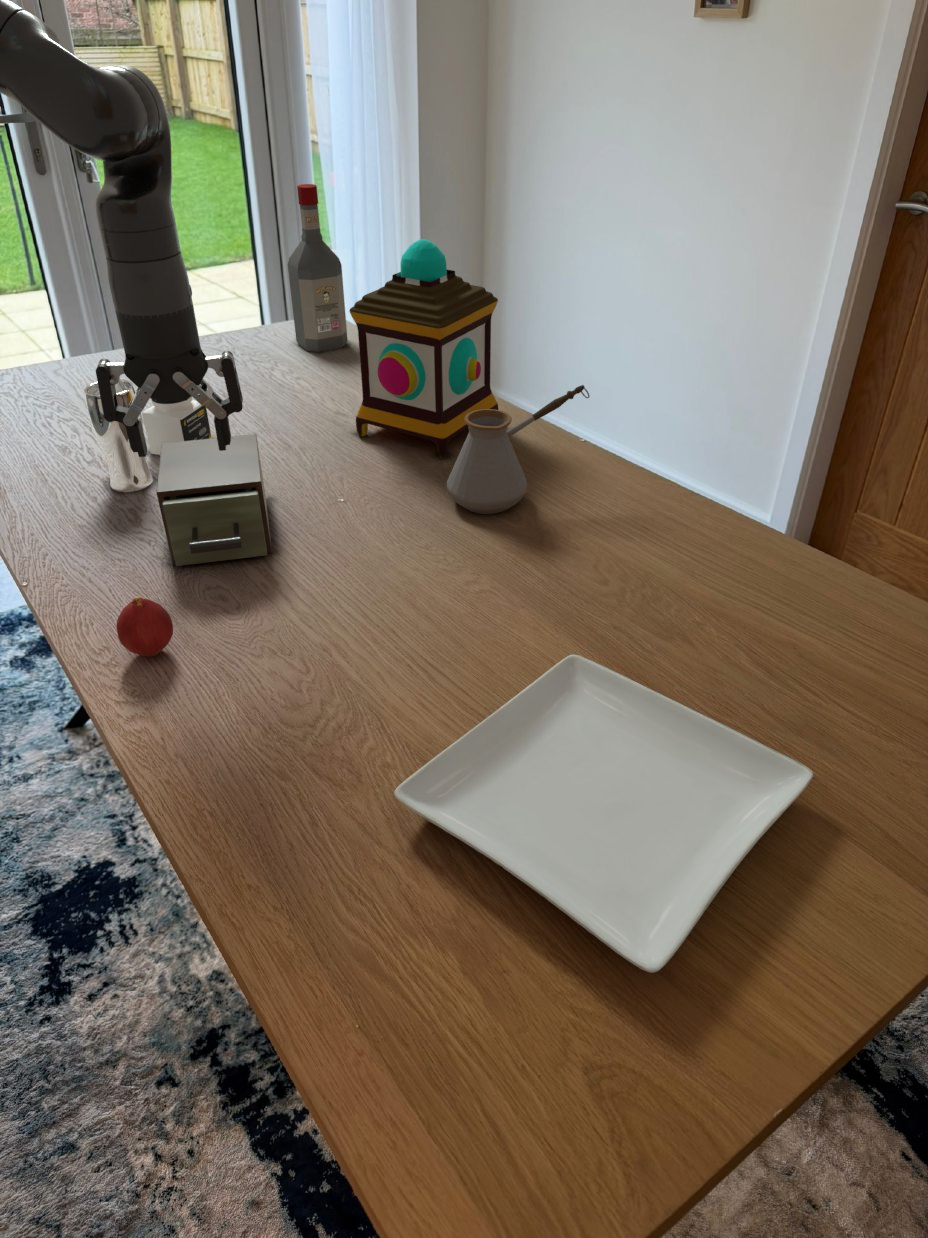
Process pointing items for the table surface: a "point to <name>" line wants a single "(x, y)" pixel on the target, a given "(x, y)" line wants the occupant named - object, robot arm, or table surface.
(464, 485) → the coffee pot
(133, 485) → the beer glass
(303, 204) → the liquor
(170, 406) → the medicine bottle
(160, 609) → the onion
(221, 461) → the cabinet
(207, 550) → the drawer
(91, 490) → the table surface
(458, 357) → the decorative lantern
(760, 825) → the square plate
